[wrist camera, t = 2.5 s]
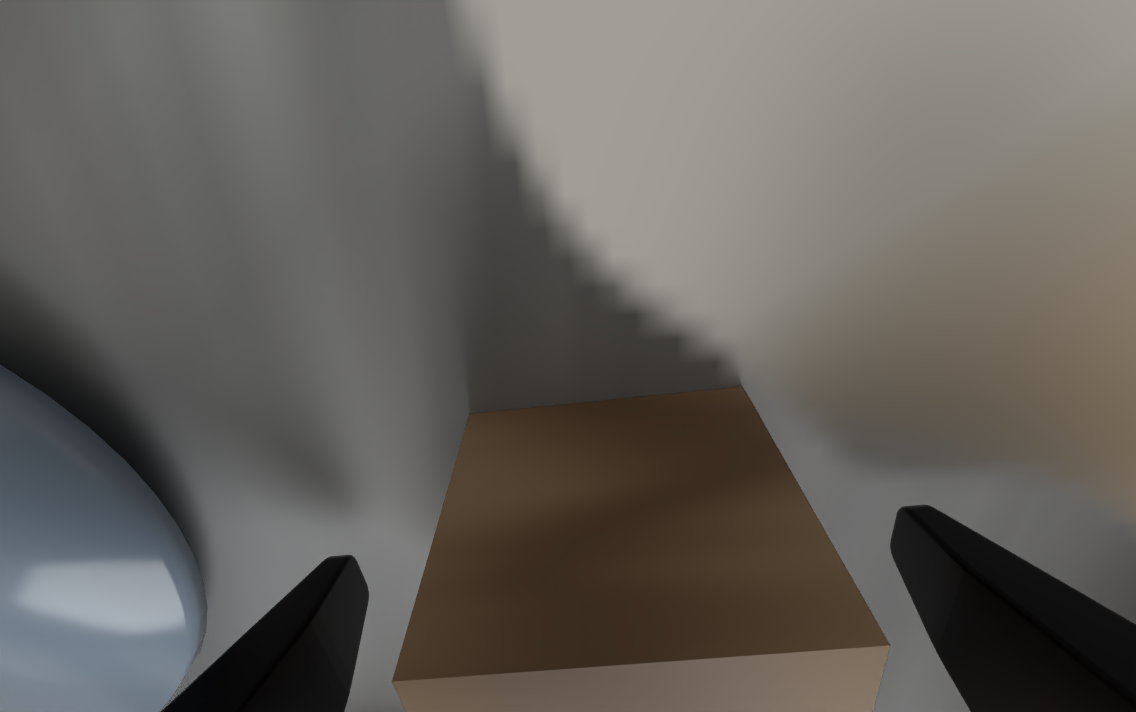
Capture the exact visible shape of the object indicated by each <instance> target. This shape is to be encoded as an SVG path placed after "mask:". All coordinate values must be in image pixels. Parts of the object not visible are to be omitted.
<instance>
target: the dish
mask: <svg viewBox="0 0 1136 712" xmlns="http://www.w3.org/2000/svg"><path fill="white" fill-rule="evenodd" d="M206 622H207V603H206V596H205V590H204V583H203V580H202V577H201V574H200V572H199V569H198V566H197V563H196V560H195V557H194V555H193V553H192V551H191V549H190V547H189V545H188V543H187V542H186V540H185V538H184V536H183V534H182V532H181V530H180V528H179V527H178V525H177V523H176V522H175V521H174V519H173V518H172V516H171V515H170V514H169V512H168V511H167V509H166V508H165V507H164V505H163V504H162V502H161V501H160V500H159V498H158V497H157V495H156V494H155V493H154V492H153V491H152V490H151V488H150V487H149V486H148V485H147V484H146V483H145V482H144V481H143V480H142V478H141V477H140V476H139V475H138V474H137V473H136V472H135V471H134V470H133V468H132V467H131V466H130V465H129V464H128V463H127V462H126V461H125V460H124V459H123V458H122V457H121V456H120V455H119V454H118V453H117V452H115V451H114V450H113V449H112V448H111V447H110V446H109V445H108V444H107V443H106V442H105V441H103V440H102V439H101V438H100V437H99V436H98V435H97V434H96V433H95V432H94V431H93V430H91V429H90V428H89V427H88V426H87V425H85V424H84V423H83V422H81V421H80V420H79V419H78V418H76V417H75V416H74V415H72V414H71V413H70V412H68V411H67V410H66V409H65V408H63V407H62V406H61V405H59V404H58V403H57V402H55V401H54V400H53V399H52V398H50V397H49V396H48V395H46V394H45V393H43V392H42V391H40V390H39V389H37V388H36V387H34V386H33V385H31V384H29V383H28V382H26V381H25V380H23V379H22V378H20V377H19V376H17V375H16V374H14V373H13V372H11V371H9V370H8V369H6V368H5V367H3V366H2V365H0V712H159V711H160V710H161V709H162V708H163V707H164V706H165V704H166V703H167V702H168V701H169V700H170V699H171V697H172V696H173V694H174V693H175V691H176V690H177V688H178V686H179V685H180V683H181V682H182V680H183V679H184V677H185V676H186V674H187V672H188V671H189V669H190V668H191V666H192V664H193V662H194V661H195V659H196V657H197V656H198V654H199V652H200V649H201V646H202V643H203V639H204V636H205V633H206Z"/></svg>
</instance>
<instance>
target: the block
mask: <svg viewBox="0 0 1136 712" xmlns="http://www.w3.org/2000/svg"><path fill="white" fill-rule="evenodd" d="M889 648H890V644H889V642H888V641H887V639H886V637H885V635H884V634H883V632H882V630H881V628H880V627H879V625H878V623H877V621H876V620H875V618H874V616H873V614H872V613H871V611H870V609H869V607H868V606H867V604H866V602H865V600H864V598H863V597H862V595H861V593H860V591H859V590H858V588H857V586H856V584H855V583H854V581H853V579H852V577H851V576H850V574H849V572H848V570H847V569H846V567H845V565H844V563H843V562H842V560H841V558H840V556H839V555H838V553H837V551H836V549H835V548H834V546H833V544H832V542H831V541H830V539H829V537H828V535H827V534H826V532H825V530H824V528H823V527H822V525H821V523H820V521H819V519H818V518H817V516H816V514H815V512H814V511H813V509H812V507H811V505H810V504H809V502H808V500H807V498H806V497H805V495H804V493H803V491H802V490H801V488H800V486H799V484H798V483H797V481H796V479H795V477H794V476H793V474H792V472H791V470H790V469H789V467H788V465H787V463H786V462H785V460H784V458H783V456H782V455H781V453H780V451H779V449H778V448H777V446H776V444H775V442H774V440H773V439H772V437H771V435H770V433H769V432H768V430H767V428H766V426H765V425H764V423H763V421H762V419H761V418H760V416H759V414H758V412H757V411H756V409H755V407H754V405H753V404H752V402H751V400H750V398H749V397H748V395H747V393H746V391H745V390H744V388H743V387H733V388H723V389H713V390H703V391H693V392H683V393H673V394H663V395H653V396H643V397H633V398H623V399H613V400H603V401H593V402H583V403H573V404H563V405H553V406H543V407H533V408H523V409H513V410H503V411H492V412H482V413H472V414H470V415H469V418H468V422H467V425H466V429H465V432H464V436H463V439H462V442H461V446H460V449H459V453H458V456H457V460H456V463H455V467H454V470H453V473H452V477H451V480H450V484H449V487H448V491H447V494H446V498H445V501H444V504H443V508H442V511H441V515H440V518H439V522H438V525H437V529H436V532H435V535H434V539H433V542H432V546H431V549H430V553H429V556H428V559H427V563H426V566H425V570H424V573H423V577H422V580H421V584H420V587H419V590H418V594H417V597H416V601H415V604H414V608H413V611H412V615H411V618H410V621H409V625H408V628H407V632H406V635H405V639H404V642H403V646H402V649H401V652H400V656H399V659H398V663H397V666H396V670H395V673H394V677H393V680H392V683H393V685H394V687H395V689H396V692H397V694H398V696H399V698H400V700H401V703H402V705H403V707H404V709H405V711H406V712H873V709H874V705H875V701H876V698H877V694H878V690H879V686H880V683H881V679H882V675H883V671H884V667H885V664H886V660H887V656H888V652H889Z"/></svg>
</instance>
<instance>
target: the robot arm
mask: <svg viewBox="0 0 1136 712" xmlns="http://www.w3.org/2000/svg"><path fill="white" fill-rule="evenodd" d="M890 547H891V553H892V556H893V559H894V561H895V563H896V566H897V568H898V570H899V572H900V574H901V577H902V579H903V581H904V583H905V585H906V587H907V590H908V592H909V594H910V596H911V598H912V601H913V603H914V605H915V607H916V609H917V611H918V614H919V616H920V618H921V620H922V622H923V624H924V627H925V629H926V631H927V633H928V635H929V637H930V640H931V642H932V644H933V646H934V648H935V650H936V652H937V654H938V655H939V657H940V659H941V661H942V663H943V664H944V666H945V668H946V670H947V672H948V673H949V675H950V677H951V678H952V680H953V682H954V684H955V685H956V687H957V689H958V690H959V692H960V694H961V696H962V697H963V699H964V701H965V702H966V704H967V706H968V708H969V709H970V711H971V712H1136V624H1134V623H1132V622H1131V621H1129V620H1127V619H1125V618H1124V617H1122V616H1120V615H1118V614H1117V613H1115V612H1113V611H1112V610H1110V609H1108V608H1106V607H1105V606H1103V605H1101V604H1099V603H1098V602H1096V601H1094V600H1093V599H1091V598H1089V597H1087V596H1086V595H1084V594H1082V593H1080V592H1079V591H1077V590H1075V589H1073V588H1072V587H1070V586H1068V585H1067V584H1065V583H1063V582H1061V581H1060V580H1058V579H1056V578H1054V577H1053V576H1051V575H1049V574H1048V573H1046V572H1044V571H1042V570H1041V569H1039V568H1037V567H1035V566H1034V565H1032V564H1030V563H1029V562H1027V561H1025V560H1023V559H1022V558H1020V557H1018V556H1016V555H1015V554H1013V553H1011V552H1010V551H1008V550H1006V549H1004V548H1003V547H1001V546H999V545H997V544H996V543H994V542H992V541H991V540H989V539H987V538H985V537H984V536H982V535H980V534H978V533H977V532H975V531H973V530H972V529H970V528H968V527H966V526H965V525H963V524H961V523H959V522H958V521H956V520H954V519H952V518H951V517H949V516H947V515H946V514H944V513H942V512H940V511H939V510H937V509H935V508H933V507H931V506H928V505H915V506H904V507H901V508H900V509H899V510H898V512H897V516H896V520H895V524H894V529H893V533H892V538H891V543H890ZM368 600H369V591H368V586H367V583H366V581H365V579H364V576H363V574H362V572H361V570H360V567H359V565H358V563H357V560H356V559H355V557H353V556H352V555H341V556H331V557H328V558H327V559H325V560H324V561H323V562H322V563H320V564H319V565H318V566H317V567H316V568H315V569H314V570H313V571H312V572H311V573H310V574H309V575H308V576H306V577H305V578H304V579H303V580H302V581H301V582H300V583H299V584H298V585H297V586H296V587H295V588H294V589H292V590H291V591H290V592H289V593H288V594H287V595H286V596H285V597H284V598H283V599H282V600H281V601H280V602H278V603H277V604H276V605H275V606H274V607H273V608H272V609H271V610H270V611H269V612H268V613H267V614H266V615H264V616H263V617H262V618H261V619H260V620H259V621H258V622H257V623H256V624H255V625H254V626H253V627H252V628H250V629H249V630H248V631H247V632H246V633H245V634H244V635H243V636H242V637H241V638H240V639H239V640H238V641H236V642H235V643H234V644H233V645H232V646H231V647H230V648H229V649H228V650H227V651H226V652H225V653H223V654H222V655H221V656H220V657H219V658H218V659H217V660H216V661H215V662H214V663H213V664H212V665H211V666H209V667H208V668H207V669H206V670H205V671H204V672H203V673H202V674H201V675H200V676H199V677H198V678H197V679H195V680H194V681H193V682H192V683H191V684H190V685H189V686H188V687H187V688H186V689H185V690H184V691H183V692H181V693H180V694H179V695H178V696H177V697H176V698H175V699H174V700H173V701H172V702H171V703H170V704H169V705H167V706H166V707H165V708H164V709H163V710H162V711H161V712H344V711H345V707H346V704H347V700H348V697H349V692H350V688H351V684H352V679H353V675H354V670H355V665H356V660H357V655H358V650H359V645H360V640H361V635H362V630H363V625H364V620H365V616H366V611H367V606H368Z"/></svg>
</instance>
